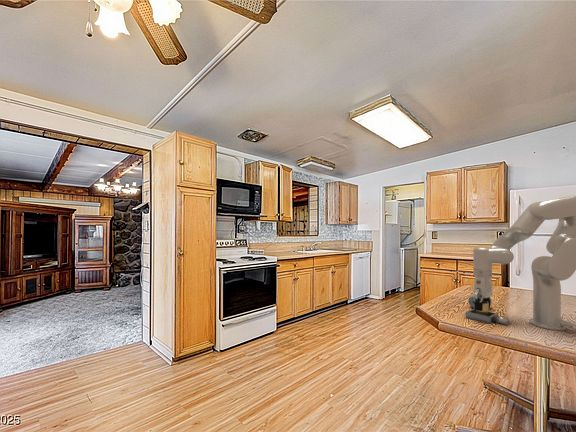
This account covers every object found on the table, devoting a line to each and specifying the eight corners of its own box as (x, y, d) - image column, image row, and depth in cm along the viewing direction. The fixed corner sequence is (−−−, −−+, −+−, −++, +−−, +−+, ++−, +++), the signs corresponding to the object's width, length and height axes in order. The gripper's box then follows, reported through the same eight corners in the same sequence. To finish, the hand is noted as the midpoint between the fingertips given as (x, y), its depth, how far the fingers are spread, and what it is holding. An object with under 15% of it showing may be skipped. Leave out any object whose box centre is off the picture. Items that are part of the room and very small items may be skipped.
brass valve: (490, 317, 141) (490, 300, 141) (486, 319, 137) (486, 302, 138) (478, 314, 145) (478, 298, 145) (473, 316, 142) (474, 299, 142)
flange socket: (511, 323, 136) (511, 316, 136) (504, 327, 130) (504, 320, 130) (474, 314, 148) (474, 307, 148) (465, 317, 142) (465, 311, 142)
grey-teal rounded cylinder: (484, 306, 151) (477, 287, 157) (466, 310, 158) (461, 292, 164) (499, 310, 157) (492, 292, 162) (482, 314, 164) (476, 296, 169)
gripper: (484, 275, 133) (484, 313, 133) (497, 272, 144) (497, 307, 144) (466, 273, 139) (466, 309, 139) (480, 270, 150) (480, 304, 149)
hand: (482, 308), depth 141 cm, fingers open, 9 cm apart
